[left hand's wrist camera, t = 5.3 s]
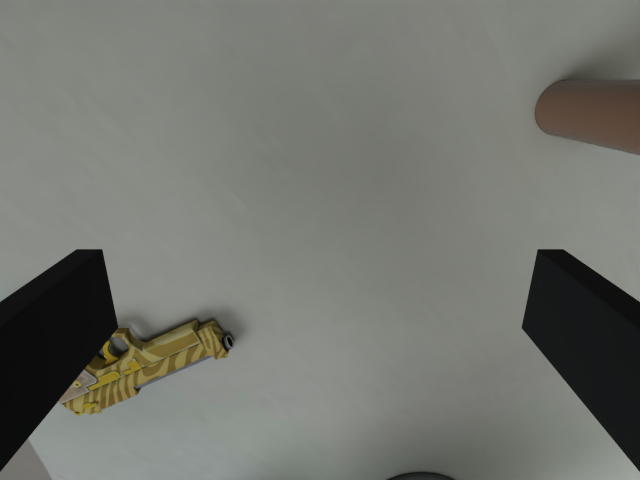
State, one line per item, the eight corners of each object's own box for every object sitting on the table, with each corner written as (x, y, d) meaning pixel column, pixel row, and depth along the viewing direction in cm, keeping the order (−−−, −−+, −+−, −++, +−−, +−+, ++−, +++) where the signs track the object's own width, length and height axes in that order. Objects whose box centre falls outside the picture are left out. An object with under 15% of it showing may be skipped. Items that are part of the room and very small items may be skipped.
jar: (599, 104, 37) (768, 117, 23) (557, 146, 39) (693, 182, 25) (565, 67, 36) (720, 59, 22) (523, 112, 38) (644, 130, 24)
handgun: (166, 233, 42) (239, 345, 47) (-10, 319, 45) (75, 416, 50) (158, 242, 40) (235, 359, 44) (-28, 331, 43) (63, 432, 47)
